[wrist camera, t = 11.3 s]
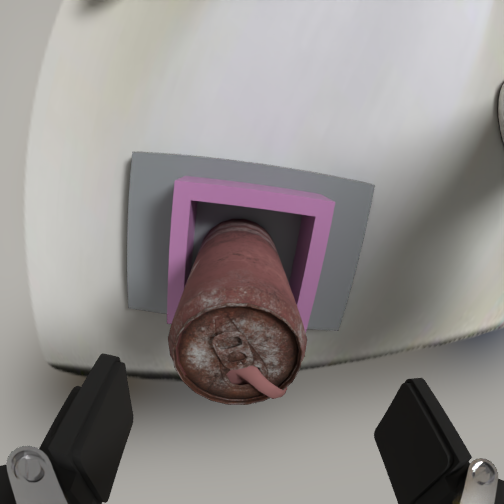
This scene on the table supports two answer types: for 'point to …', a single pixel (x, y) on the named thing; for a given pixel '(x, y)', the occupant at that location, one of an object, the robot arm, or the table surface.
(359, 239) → the cup holder
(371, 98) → the table surface
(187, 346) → the can
